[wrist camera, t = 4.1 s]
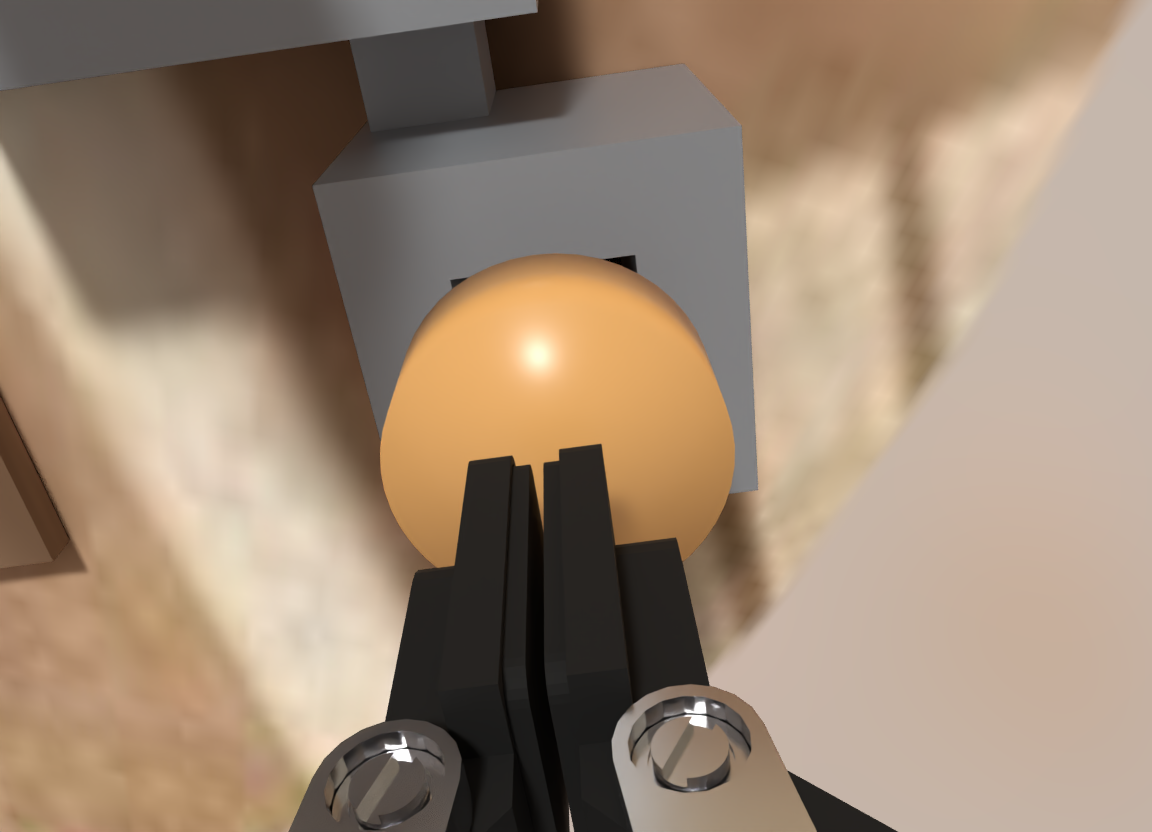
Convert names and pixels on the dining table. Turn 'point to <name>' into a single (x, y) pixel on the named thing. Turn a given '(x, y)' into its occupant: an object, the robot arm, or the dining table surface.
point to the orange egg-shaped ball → (559, 400)
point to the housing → (463, 161)
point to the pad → (24, 505)
